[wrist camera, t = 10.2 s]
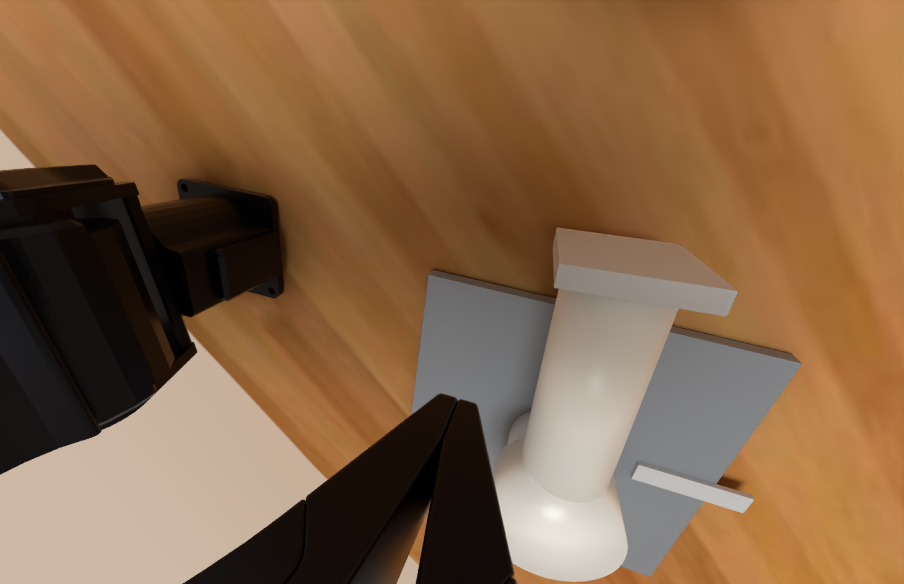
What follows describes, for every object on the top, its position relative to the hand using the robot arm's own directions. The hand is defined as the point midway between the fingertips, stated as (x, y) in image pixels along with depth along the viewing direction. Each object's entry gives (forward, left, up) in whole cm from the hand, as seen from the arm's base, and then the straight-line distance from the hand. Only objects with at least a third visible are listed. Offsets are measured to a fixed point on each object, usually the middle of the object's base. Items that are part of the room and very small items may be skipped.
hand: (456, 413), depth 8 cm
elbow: (+5, -6, -10) cm, 12 cm away
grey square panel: (+6, -10, -12) cm, 17 cm away
